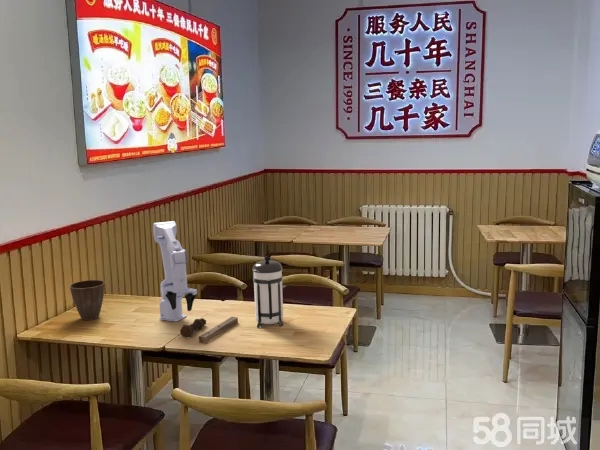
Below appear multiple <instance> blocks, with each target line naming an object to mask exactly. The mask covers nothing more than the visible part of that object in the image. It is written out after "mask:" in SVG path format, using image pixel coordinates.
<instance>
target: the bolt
mask: <svg viewBox="0 0 600 450" xmlns="http://www.w3.org/2000/svg"><path fill="white" fill-rule="evenodd" d="M206 324H207V319H205V318H195V319H194V320H193V321H192V323H191V324H183V325H182V326H181V328H180V330H179V332H180V335H181V336H182V338H187V337H190V338H192V336H193V335H194V332H195V331H200V330H202V329H204V326H206Z"/></svg>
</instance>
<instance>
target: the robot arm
mask: <svg viewBox="0 0 600 450" xmlns="http://www.w3.org/2000/svg"><path fill="white" fill-rule="evenodd" d="M177 227H178V226H177V222H176V221H174V220H171V221H163V222H154V223H153V224H152V233H153V234H152V235H153V239H154V242H155V243H157V244H158V246H159V248H160V253H161V259H162V265H163V271H164V276H165V278H164V280H162V281H161V282H160V284H159V285H160V296H161V300H160V302H159V313H160V314H159V315H160V318H159V320H161V321H162V320H163V321H167V322H168V321H169V322H170V321H171V322H179V321H181V320H182V319H185V318H186V317H187V314H183V306H182V305H183V303H182V302H183V301H182V300H183V298H185V300H186V305H187V306H186V310H187V312H191V311H192V309H193V304H194V301H195V299H196V297H197V294H198V289H196V288H191V287H188V278H187V263H188V254H187V250H186V249H184V248H183V247H182V244H181V242H180V241H179V240H178V239H176V237H177V231H178V228H177Z"/></svg>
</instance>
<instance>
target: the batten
mask: <svg viewBox="0 0 600 450" xmlns="http://www.w3.org/2000/svg"><path fill="white" fill-rule="evenodd" d="M238 319H239V318H238V316H237V317H236V316H230V317H229V318H227V319H225V320H223V321H222V322H220V323H219V324H217V325H215V326H213V327H212V328H211V329H209V330H207V331H205V332H204V333H202V334H201V335H198V343H199V344H207V343H208V342H211V341H212V340H213V339H215V338H216V337H218V336H219V335H221V334H223V333H224V332H226V331H227V330H228V329H231V328H232V327H233V326H235V325H237V324H238V322H239V320H238Z"/></svg>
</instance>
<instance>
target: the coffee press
mask: <svg viewBox="0 0 600 450" xmlns="http://www.w3.org/2000/svg"><path fill="white" fill-rule="evenodd" d="M270 258H271V257H270V256H269V255H266V256H265V255H264V260H261V261H260V260H259V261H258V262H256V263H254V265H253V267H252V272H253V277H252V279H253V280H252V281H253V288H254V289H253V291H254V313H255V316H254V317H255V320H256V322H257V325H256V328H258V329H261V328H262V327H263V325H272V324H276V325H278V326H279V327H280V328H281V327H283V326H285V324H284V322H283V319H284V301H283V300H284V299H283V273H282V272H283V266H282V264H281V263H280V262H279V261H276V260H270Z"/></svg>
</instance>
